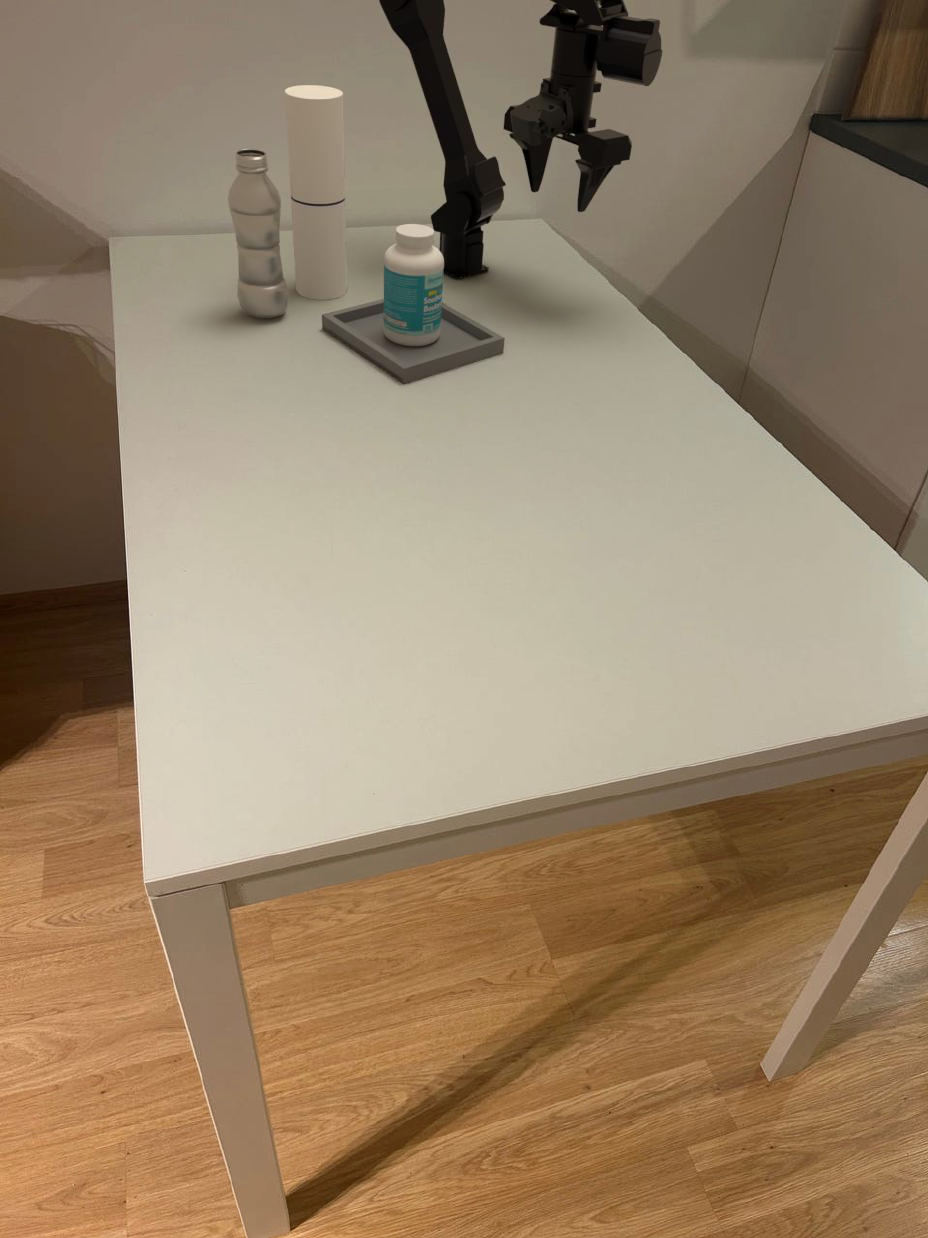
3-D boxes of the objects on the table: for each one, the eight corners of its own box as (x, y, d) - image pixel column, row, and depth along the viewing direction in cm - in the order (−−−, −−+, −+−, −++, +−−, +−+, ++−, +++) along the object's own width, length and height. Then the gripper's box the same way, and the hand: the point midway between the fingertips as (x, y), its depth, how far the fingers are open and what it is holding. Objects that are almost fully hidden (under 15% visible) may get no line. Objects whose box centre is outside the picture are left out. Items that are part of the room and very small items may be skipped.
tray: (322, 329, 123) (321, 314, 121) (419, 303, 131) (419, 289, 129) (404, 383, 113) (404, 368, 111) (503, 352, 121) (504, 337, 119)
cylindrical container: (306, 302, 129) (296, 100, 112) (289, 283, 133) (276, 86, 117) (354, 295, 131) (351, 97, 115) (336, 277, 136) (330, 83, 119)
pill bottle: (432, 352, 118) (437, 244, 109) (376, 343, 119) (376, 235, 110) (446, 328, 124) (451, 224, 115) (392, 320, 124) (393, 215, 116)
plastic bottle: (267, 328, 122) (254, 164, 108) (228, 314, 124) (211, 152, 111) (299, 313, 126) (290, 153, 113) (261, 299, 128) (248, 141, 115)
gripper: (476, 60, 118) (468, 190, 128) (579, 94, 108) (561, 232, 118) (541, 54, 124) (528, 179, 134) (644, 86, 113) (622, 218, 124)
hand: (557, 201), depth 127 cm, fingers open, 9 cm apart
